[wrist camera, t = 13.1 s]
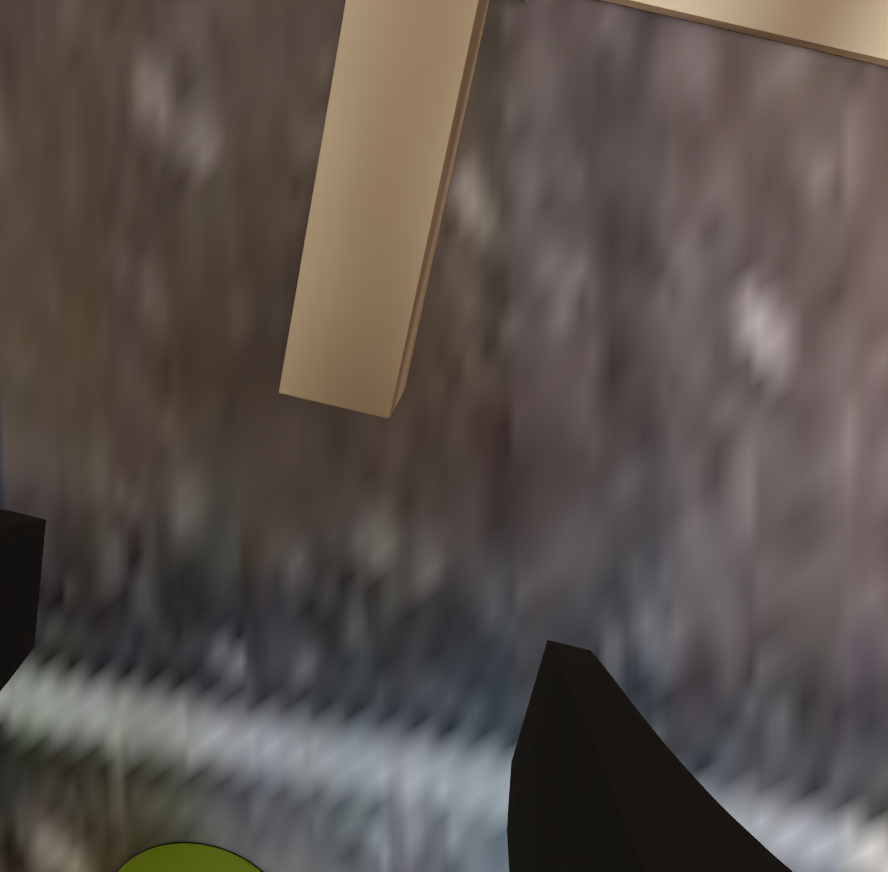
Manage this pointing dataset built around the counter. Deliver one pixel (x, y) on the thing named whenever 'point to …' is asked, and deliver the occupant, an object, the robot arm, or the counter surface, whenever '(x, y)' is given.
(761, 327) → the counter surface
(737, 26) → the cork mat
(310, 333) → the turner
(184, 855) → the soap dispenser
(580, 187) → the counter surface
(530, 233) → the counter surface
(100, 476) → the counter surface
